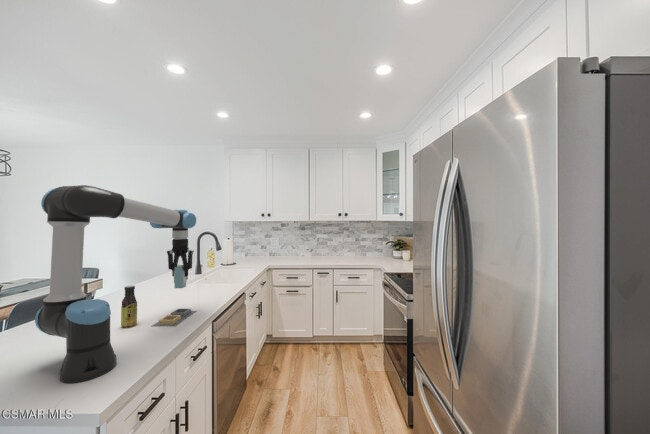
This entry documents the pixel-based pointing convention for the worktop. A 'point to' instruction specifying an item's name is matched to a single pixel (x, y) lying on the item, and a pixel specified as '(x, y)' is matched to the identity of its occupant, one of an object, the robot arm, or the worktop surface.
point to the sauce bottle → (129, 308)
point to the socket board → (174, 318)
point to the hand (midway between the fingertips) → (180, 282)
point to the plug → (179, 277)
